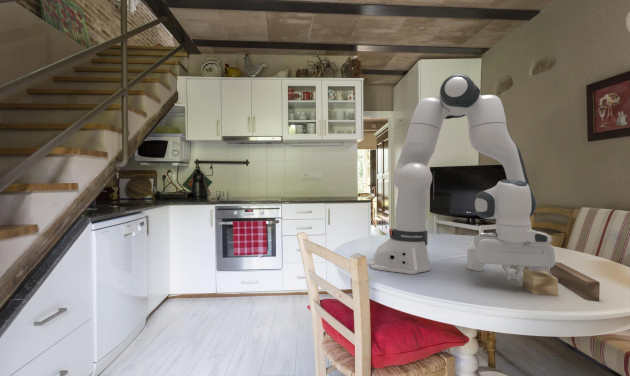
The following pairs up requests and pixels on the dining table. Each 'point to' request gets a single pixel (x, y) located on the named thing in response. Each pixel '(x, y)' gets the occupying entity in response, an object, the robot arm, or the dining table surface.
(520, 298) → the dining table surface
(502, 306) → the dining table surface
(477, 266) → the white bottle
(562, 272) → the walnut board
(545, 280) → the oak block
